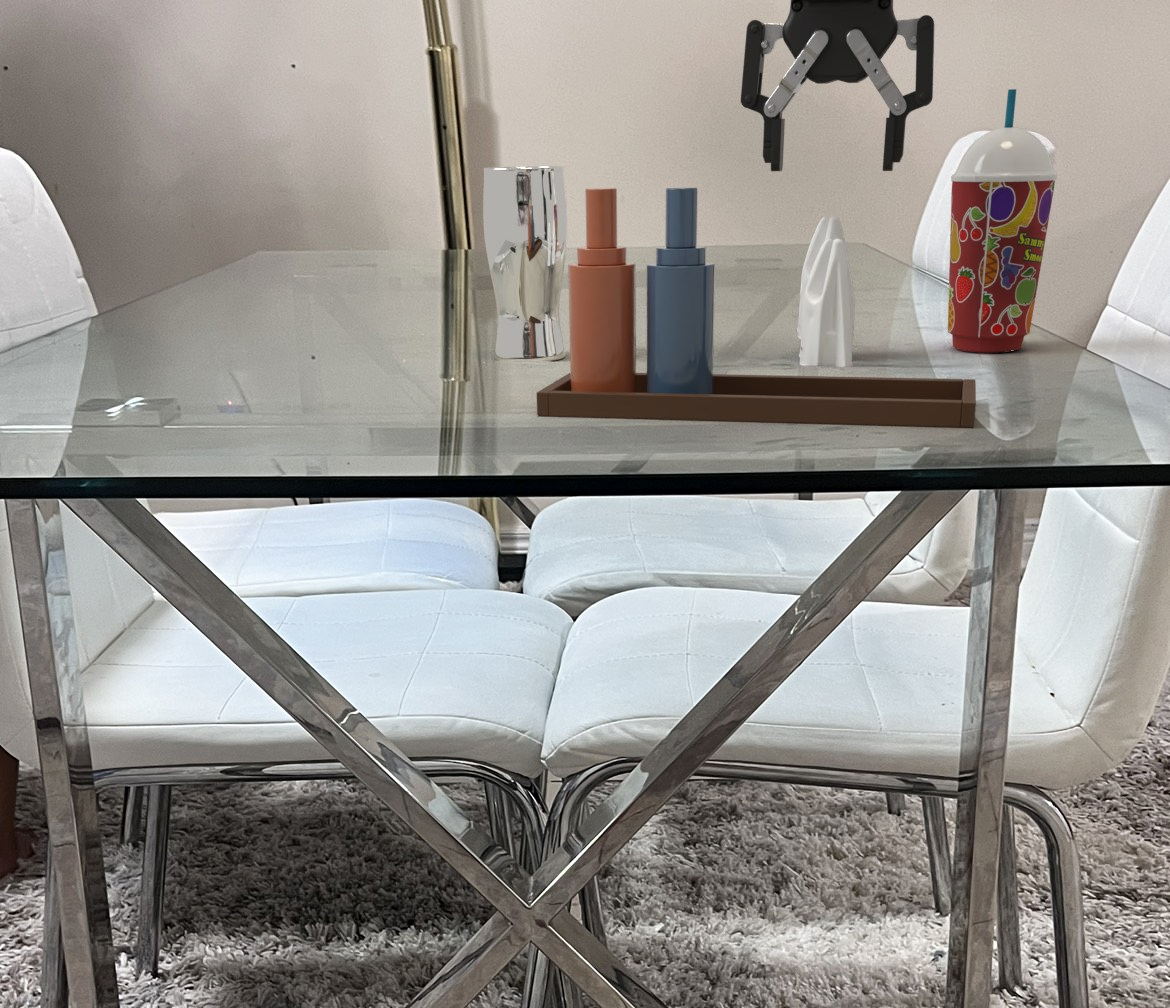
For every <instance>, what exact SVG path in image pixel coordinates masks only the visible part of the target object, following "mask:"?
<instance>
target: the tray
mask: <svg viewBox="0 0 1170 1008" xmlns="http://www.w3.org/2000/svg"><path fill="white" fill-rule="evenodd" d="M976 384H977V383H976V379H975V378H973V379H971V378H964V379H963V378H931V377H929V378H928V377H927V378H926V377H925V378H924V377H879V376H877V377H873V376H872V377H871V376H828V375H827V376H826V375H825V376H824V375H778V374H777V375H772V374H727V373H726V374H724V373H723V374H722V373H721V374H719V373H713V394H673V393H647V372H636V393H629V392H586V391H571V375H570V372H569V373H567V374H565V375H563V376H562V377H560V378H559V379H557V380H555V381H554V382H552V383H550V384H548V385H547V386H545V387H544V388H542V389H540V390H538V391H537V392H536V415H537V417H539V418H540V417H541V418H570V419H571V418H573V419H574V418H577V419H611V420H613V419H614V420H615V419H616V420H644V421H645V420H650V421H683V422H685V421H686V422H717V423H720V422H721V423H725V422H726V423H755V424H760V423H761V424H763V423H764V424H791V425H792V424H793V425H794V424H795V425H798V424H799V425H834V426H863V427H865V426H867V427H868V426H869V427H898V428H899V427H902V428H906V427H907V428H939V429H941V428H943V429H946V428H947V429H974V426H975V416H976V407H977V389H976V388H977V387H976V386H977V385H976Z"/></svg>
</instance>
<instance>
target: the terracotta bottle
mask: <svg viewBox="0 0 1170 1008" xmlns="http://www.w3.org/2000/svg"><path fill="white" fill-rule="evenodd" d="M584 190H585V192H584V193H585V194H584V195H585V235H586V236H585V245H584V246H578V247H577V248H576V256H577V257H576V259H577V260H576V261H577V262H572V263H569V264H568V265H567V276H568V279H567V280H568V319H569V320H568V322H569V323H568V325H569V367H570V369H569V370H570V371H569V373H570V375H571V391H586V392H629V393H636V373H637V263H636V262H635V261H634V262H633V261H627V260H628V259H627V258H628V257H627V256H628V255H627V251H628V250H627V248H628V247H627V246H624V245H618V189H617V188H616V187H592V188H591V187H589V188H585V189H584Z"/></svg>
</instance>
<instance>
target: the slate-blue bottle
mask: <svg viewBox="0 0 1170 1008" xmlns="http://www.w3.org/2000/svg"><path fill="white" fill-rule="evenodd" d="M698 191H699V188H698V187H697V186H675V187H674V186H673V187H672V186H671V187H666V188H665V235H664V236H665V242H664V246H663V245H662V246H657V247H656V248H655V261H654V262H649V263H647V264H646V373H647V393H673V394H713V374H714V355H715V352H714V349H715V305H716V303H715V301H716V298H715V297H716V263H715V262H711V261H707V247H706V246H704V245H698V197H699V196H698Z"/></svg>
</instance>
